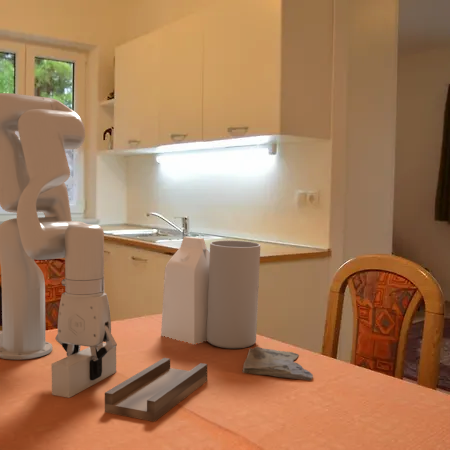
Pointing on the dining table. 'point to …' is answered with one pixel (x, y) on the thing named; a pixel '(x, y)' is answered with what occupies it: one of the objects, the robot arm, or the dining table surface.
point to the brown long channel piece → (154, 390)
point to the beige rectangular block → (79, 372)
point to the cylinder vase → (233, 293)
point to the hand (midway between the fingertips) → (85, 375)
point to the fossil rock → (274, 364)
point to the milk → (186, 292)
